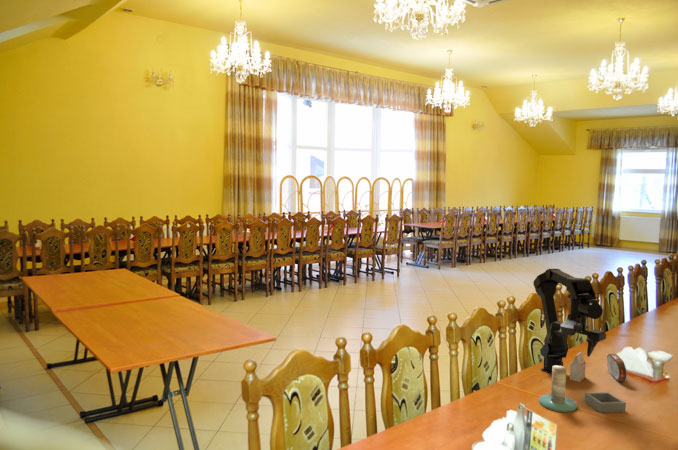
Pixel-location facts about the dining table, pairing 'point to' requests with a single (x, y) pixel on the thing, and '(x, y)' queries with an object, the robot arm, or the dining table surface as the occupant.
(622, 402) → the pocket
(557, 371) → the peg
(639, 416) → the dining table surface
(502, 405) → the dining table surface
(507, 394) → the dining table surface
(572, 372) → the milk carton
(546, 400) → the saucer
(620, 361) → the tin
